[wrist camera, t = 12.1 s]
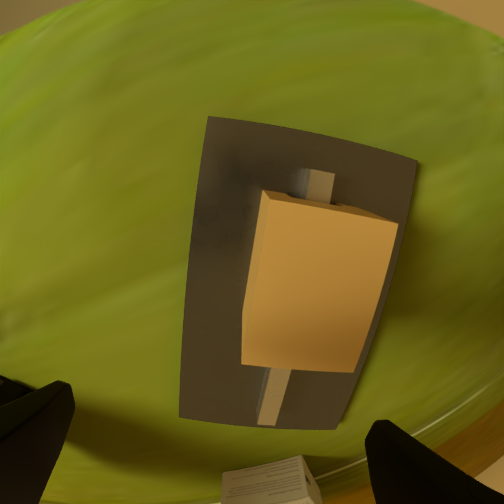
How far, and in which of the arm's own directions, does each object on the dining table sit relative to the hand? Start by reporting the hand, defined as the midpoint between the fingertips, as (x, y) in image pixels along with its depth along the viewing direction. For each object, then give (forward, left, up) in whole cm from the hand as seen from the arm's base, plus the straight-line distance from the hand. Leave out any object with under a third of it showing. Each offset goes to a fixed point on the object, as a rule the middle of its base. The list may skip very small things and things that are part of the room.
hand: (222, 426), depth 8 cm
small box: (-20, -6, -12) cm, 24 cm away
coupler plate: (-1, -3, -11) cm, 12 cm away
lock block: (+2, -3, -10) cm, 11 cm away
